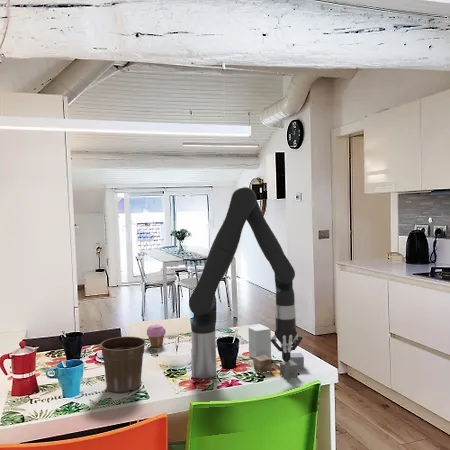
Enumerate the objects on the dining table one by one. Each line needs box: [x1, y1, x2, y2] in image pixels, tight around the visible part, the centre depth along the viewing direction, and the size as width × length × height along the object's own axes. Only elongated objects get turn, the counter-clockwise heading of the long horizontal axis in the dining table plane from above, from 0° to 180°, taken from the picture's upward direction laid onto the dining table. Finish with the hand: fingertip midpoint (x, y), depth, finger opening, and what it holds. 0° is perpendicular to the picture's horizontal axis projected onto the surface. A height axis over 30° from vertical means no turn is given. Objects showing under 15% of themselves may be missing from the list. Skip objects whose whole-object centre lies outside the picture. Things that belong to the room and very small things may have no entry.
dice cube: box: [279, 360, 299, 380], centre depth 167 cm, size 5×5×5 cm
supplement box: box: [248, 324, 272, 360], centre depth 188 cm, size 7×7×13 cm
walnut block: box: [253, 355, 272, 374], centre depth 173 cm, size 5×5×5 cm
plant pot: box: [99, 336, 147, 394], centre depth 160 cm, size 16×16×16 cm
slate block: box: [289, 352, 305, 370], centre depth 176 cm, size 5×5×5 cm
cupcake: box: [146, 323, 166, 348], centre depth 207 cm, size 9×9×10 cm
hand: (286, 361), depth 166 cm, fingers closed
